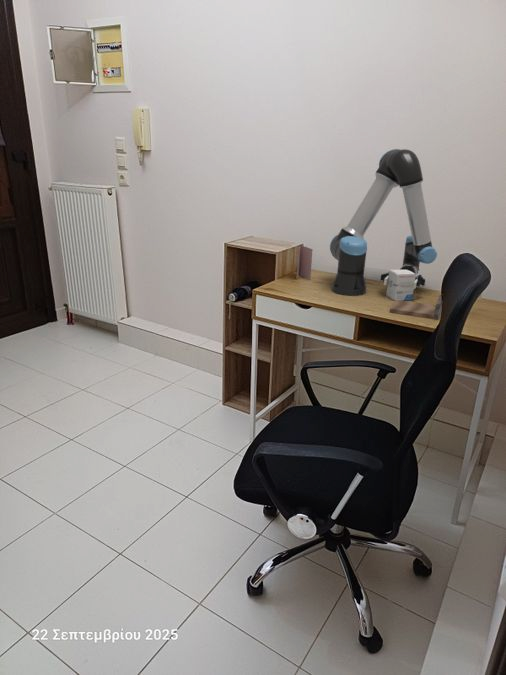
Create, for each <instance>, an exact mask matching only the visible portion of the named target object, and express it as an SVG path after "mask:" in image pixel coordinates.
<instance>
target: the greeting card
mask: <svg viewBox="0 0 506 675" xmlns="http://www.w3.org/2000/svg"><path fill="white" fill-rule="evenodd" d="M296 262H297V263H296V272H295V274H296V279H298V278H299V276H300V277H302V276H303V278H305V279H306V280H309V281H311V280H312V279H311V278H312V277H311V276H312V264H313V263H312V262H313V249H312V248H310V247H307V246H305V245H300V246H299V247H298V250H297V261H296Z"/></svg>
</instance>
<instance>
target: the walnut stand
mask: <svg viewBox="0 0 506 675" xmlns="http://www.w3.org/2000/svg"><path fill="white" fill-rule="evenodd" d="M441 295H442V294H439V295H438V298H437V299H436V300H437V301H436V303H435V304H429V303H421V302H415V301H410V300H395V301H394V302H393V304H392V305H391V307H390V308H389V313H390V314H391V313H392V314H398V315H406V316H412V317H418V318H419V317H420V318H425V319H431V320H439V317H440V315H441V311H442V307H441Z"/></svg>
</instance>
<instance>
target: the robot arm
mask: <svg viewBox="0 0 506 675" xmlns="http://www.w3.org/2000/svg"><path fill="white" fill-rule="evenodd" d="M374 174H375V180H374V181H373V183H371V184H372V185H371V186H370V188H369V190H368V191H367V193H366V194H365V195H364V197H363V199H362V201H361V202H360V205H359V206H358V207H357V209H356V211H355V212H354V214H353V216H352V217H351V219H350V221H349V222H348V224H347V226H345V227H342V228H341V229H340V231H339V232H338V234H337V235H335V236H333V238H332V239H331V241H330V244H329V250H330V254H331V256H332V257H333V258H334V259H335V260H337V262H338V263H337V273H336V276H335V278H334V280H333V282H332V286H331V291H332V292H333V293H336V294H339V295H345V296H362V295H365V294H366V293H367V284H366V280H365V269H366V268H365V267H366V259H367V258H366V257H367V250H368V242H367V241H366V239H364V235H365V234H366V232H367V230H368V229H369V227H370V226H371V224H372V222H373V221H374V219H375V218H376V216H377V214H378V213H379V211H380V209H381V208H382V206H383V205H384V203H385V201H386V200H387V198H388V197H389V195H390V193H391V192H392V190H393V189H394V188H397V187H399V188H401V189H402V192H403V193H402V194H403V198H404V203H405V209H406V213H407V218H408V222H409V228H410V233H411V234H410V235H408V236H407V237H406V239H405V243H404V253H403V260H402V266H401V267H400V269H399V270H409V271H411V272H413V273H415V274H416V276H415V282H414V286H413V289H414V290H415V289H416V288H417V287H420V286H422V287H424V286H425V284H426V279H425V277H423V276H422V274H419V272H420V269H419V266H420V263H423V264H426V265H428V264H431V263H433V262H434V261H435V260H436V259H437V257H438V252H437V250H436V248H434V246H433V244H432V243H433V242H432V238H431V233H430V227H429V221H428V215H427V210H426V205H425V199H424V198H425V197H424V193H423V186H422V183H423V181H424V178H423V172H422V167H421V163H420V160H419V158H418V156H417V155H416V153H415V152H414V151H412V150H410V149H406V148H405V149H404V148H403V149H399V148H393V149H390V150H388V151H386V152H385V153H384V154H382V155H381V157H380V159H379V164H378V168H377V170H376V171H375V173H374ZM418 271H419V272H418ZM388 277H389V272H386V273H383V274H382V273H381V274H380V281H382V282H383V286H387V284H388Z"/></svg>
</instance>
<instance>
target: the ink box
mask: <svg viewBox="0 0 506 675" xmlns="http://www.w3.org/2000/svg"><path fill="white" fill-rule="evenodd" d="M388 273H389V277H388V283H387V284H386V293H385V295H386V297H387V298H389V299H391V300H393V301H394V302H395V300H401V301H413V300H414V299H413V296H414V290H415V289H413V286H414V282H415V276H417V274H415V273H413V272H411V271H409V270H400V269H389V270H388Z"/></svg>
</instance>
